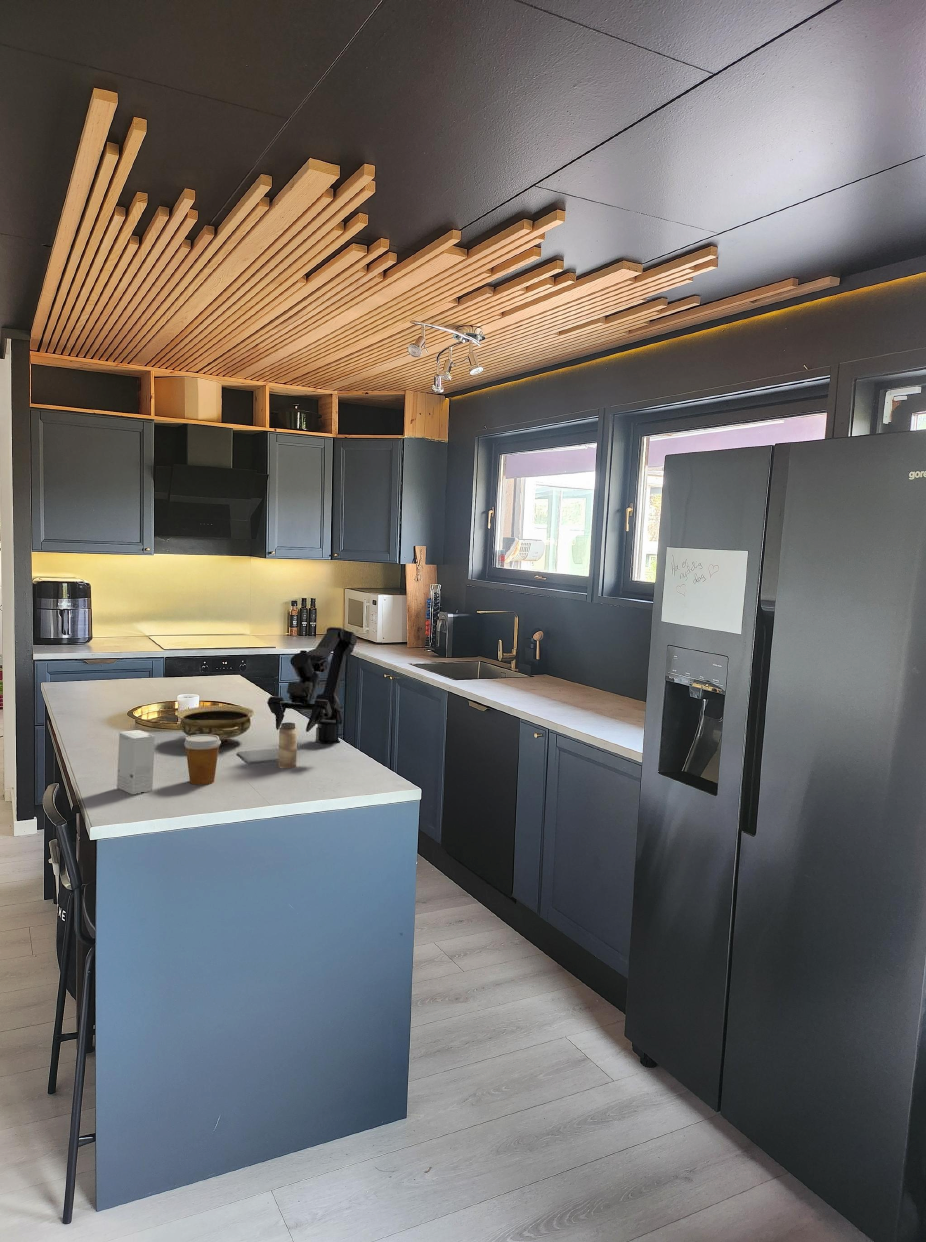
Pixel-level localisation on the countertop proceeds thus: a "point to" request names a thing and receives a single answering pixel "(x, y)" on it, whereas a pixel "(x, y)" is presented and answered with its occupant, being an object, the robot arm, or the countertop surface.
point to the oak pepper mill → (287, 745)
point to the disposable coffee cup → (202, 757)
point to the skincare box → (135, 761)
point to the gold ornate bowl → (216, 721)
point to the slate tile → (260, 755)
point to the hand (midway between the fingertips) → (291, 730)
